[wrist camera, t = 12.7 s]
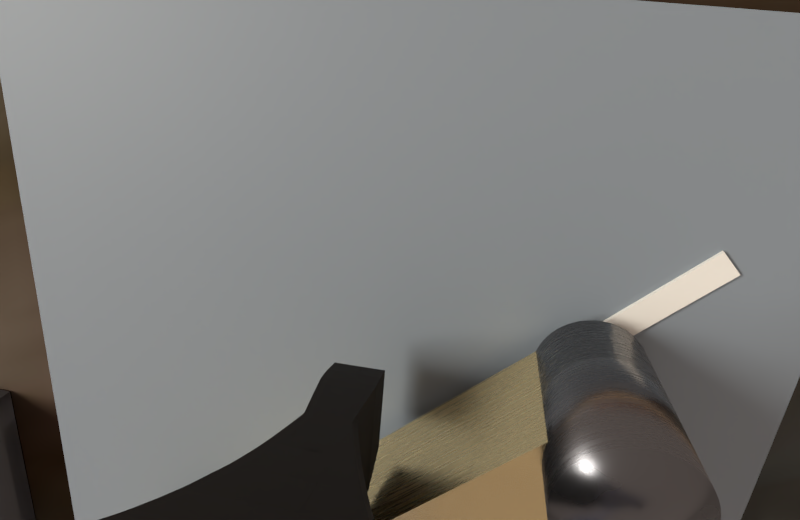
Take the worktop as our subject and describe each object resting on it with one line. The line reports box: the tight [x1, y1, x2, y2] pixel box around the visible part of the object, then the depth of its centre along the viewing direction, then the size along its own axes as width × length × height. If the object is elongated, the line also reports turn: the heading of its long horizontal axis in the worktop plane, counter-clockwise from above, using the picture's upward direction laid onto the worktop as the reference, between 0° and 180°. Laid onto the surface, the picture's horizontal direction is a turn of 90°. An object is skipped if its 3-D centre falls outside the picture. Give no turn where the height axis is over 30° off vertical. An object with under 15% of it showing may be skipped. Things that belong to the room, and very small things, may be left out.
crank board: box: [0, 0, 800, 520], centre depth 12 cm, size 20×18×5 cm
